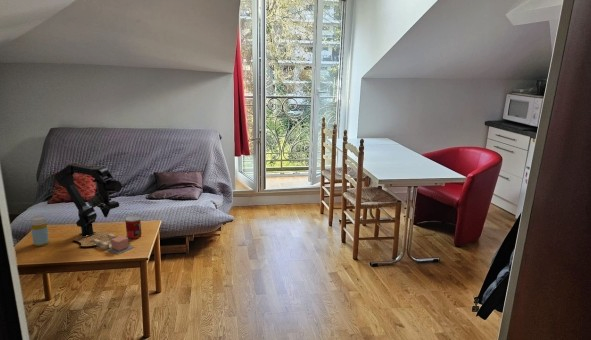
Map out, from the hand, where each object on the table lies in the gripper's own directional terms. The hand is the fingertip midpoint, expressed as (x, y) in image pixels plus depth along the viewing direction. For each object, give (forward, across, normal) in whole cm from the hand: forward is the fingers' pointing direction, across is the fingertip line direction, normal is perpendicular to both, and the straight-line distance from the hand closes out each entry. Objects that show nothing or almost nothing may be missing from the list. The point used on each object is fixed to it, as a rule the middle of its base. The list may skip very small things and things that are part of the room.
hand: (105, 217), depth 226 cm
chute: (+12, +8, -5) cm, 15 cm away
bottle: (+12, -21, -25) cm, 35 cm away
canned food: (+12, +11, +9) cm, 19 cm away
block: (+12, +18, -5) cm, 22 cm away
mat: (+12, +19, -5) cm, 23 cm away
